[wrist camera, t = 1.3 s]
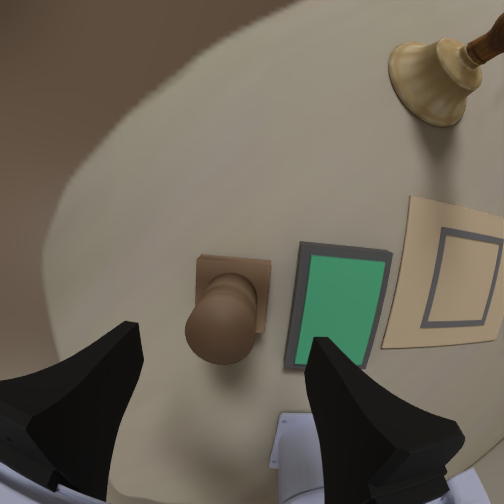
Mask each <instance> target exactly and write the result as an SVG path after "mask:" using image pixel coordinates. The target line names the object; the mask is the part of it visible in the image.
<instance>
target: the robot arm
mask: <svg viewBox="0 0 504 504" xmlns="http://www.w3.org/2000/svg"><path fill="white" fill-rule="evenodd" d="M143 362H144V357H143V351H142V345H141V338H140V332H139V324H138V323H136V322H129V321H124V322H123V323H121V324H120V325H118V326H117V327H115V328H114V329H112V330H111V331H110V332H108V333H107V334H105V335H104V336H102V337H101V338H100V339H98V340H97V341H95V342H94V343H92V344H91V345H89V346H88V347H86V348H84V349H83V350H81V351H80V352H78V353H76V354H75V355H73V356H71V357H69V358H68V359H66V360H64V361H62V362H60V363H58V364H55V365H53V366H51V367H48V368H46V369H43V370H40V371H38V372H35V373H32V374H29V375H26V376H22V377H18V378H13V379H8V380H2V381H0V504H110V503H107V502H106V495H107V485H108V477H109V470H110V464H111V459H112V454H113V449H114V445H115V440H116V437H117V433H118V429H119V426H120V423H121V420H122V417H123V415H124V413H125V410H126V408H127V405H128V403H129V401H130V398H131V396H132V394H133V391H134V389H135V387H136V384H137V382H138V380H139V376H140V373H141V369H142V366H143ZM304 374H305V383H306V391H307V396H308V400H309V403H310V407H311V411H312V413H282V414H280V416H279V421H278V425H277V430H276V435H275V439H274V444H273V448H272V452H271V457H270V461H269V468H272V469H278V504H491V503H490V501H489V499H488V496H487V494H486V492H485V490H484V488H483V486H482V484H481V482H480V480H479V478H478V476H477V474H476V472H475V470H474V468H470V469H468V470H466V471H464V472H462V473H460V474H457V475H455V476H453V477H452V478H450V479H448V480H447V481H446V480H445V478H444V475H446V474H447V470H446V467H445V465H446V464H447V463H448V462H449V461H450V460H451V459H452V458H453V457H454V456H455V455H456V454H457V453H458V451H459V450H460V449H461V448H462V446H463V444H464V442H465V436H464V435H463V433H462V431H461V430H460V428H459V426H458V425H457V423H456V421H453V420H449V419H446V418H443V417H440V416H437V415H434V414H431V413H429V412H426V411H424V410H422V409H419V408H417V407H415V406H413V405H411V404H409V403H407V402H406V401H404V400H402V399H400V398H398V397H397V396H395V395H394V394H392V393H390V392H389V391H388V390H386V389H385V388H383V387H382V386H380V385H379V384H378V383H376V382H375V381H374V380H373V379H371V378H370V377H369V376H368V375H367V374H365V373H364V372H363V371H362V370H361V369H360V368H359V367H358V366H357V365H356V364H354V363H353V362H352V361H351V360H350V359H349V358H348V357H347V356H346V355H345V354H344V353H343V352H342V351H341V350H340V349H339V348H338V346H337V345H336V344H335V343H334V342H333V341H332V340H331V339H330V338H329V337H313V341H312V345H311V349H310V353H309V357H308V361H307V365H306V369H305V372H304ZM283 420H286V421H283Z"/></svg>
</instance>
